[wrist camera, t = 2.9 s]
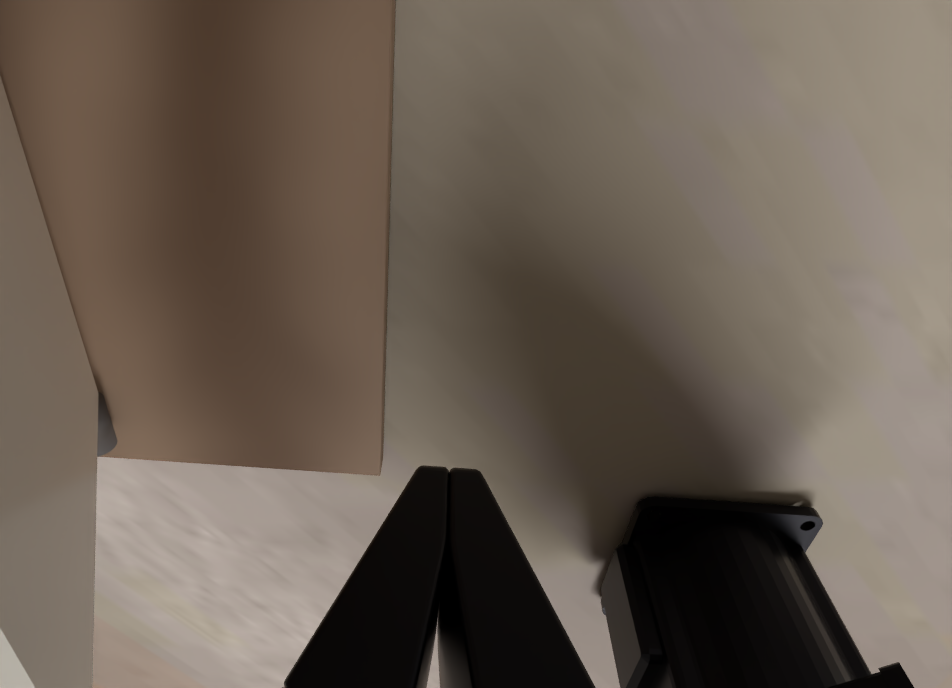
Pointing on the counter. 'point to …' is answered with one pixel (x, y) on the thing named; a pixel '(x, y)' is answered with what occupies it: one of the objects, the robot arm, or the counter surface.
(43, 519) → the tile
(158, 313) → the board
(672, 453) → the counter surface
